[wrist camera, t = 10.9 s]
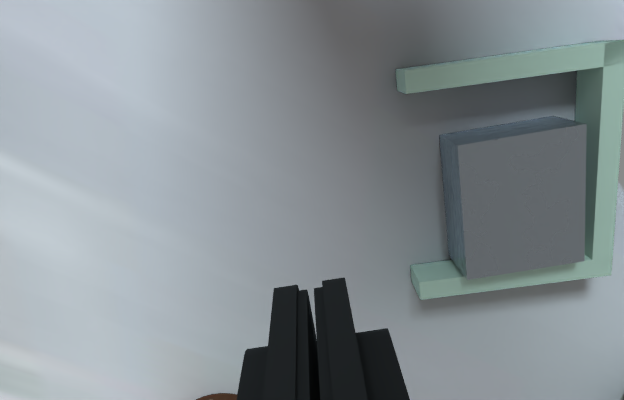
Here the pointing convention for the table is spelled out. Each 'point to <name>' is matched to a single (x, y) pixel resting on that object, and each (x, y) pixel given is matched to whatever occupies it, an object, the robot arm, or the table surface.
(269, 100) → the table surface
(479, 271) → the gray rectangular block
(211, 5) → the table surface
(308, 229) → the table surface
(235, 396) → the food container
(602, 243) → the bay
